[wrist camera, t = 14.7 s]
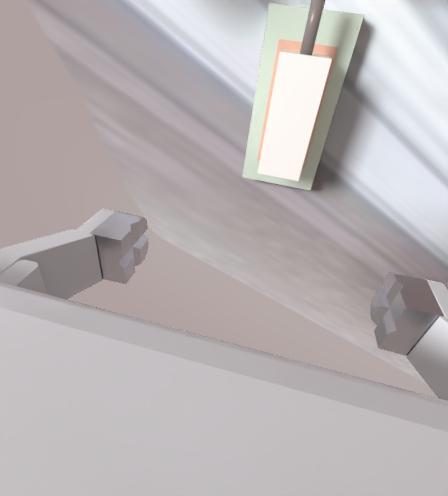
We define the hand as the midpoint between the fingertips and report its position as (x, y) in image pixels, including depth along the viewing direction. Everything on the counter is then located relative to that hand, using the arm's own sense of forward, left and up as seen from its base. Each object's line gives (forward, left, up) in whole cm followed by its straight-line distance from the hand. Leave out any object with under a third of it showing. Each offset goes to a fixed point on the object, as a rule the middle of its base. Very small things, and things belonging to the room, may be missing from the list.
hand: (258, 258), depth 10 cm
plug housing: (0, -2, -25) cm, 25 cm away
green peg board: (0, 0, -27) cm, 27 cm away
